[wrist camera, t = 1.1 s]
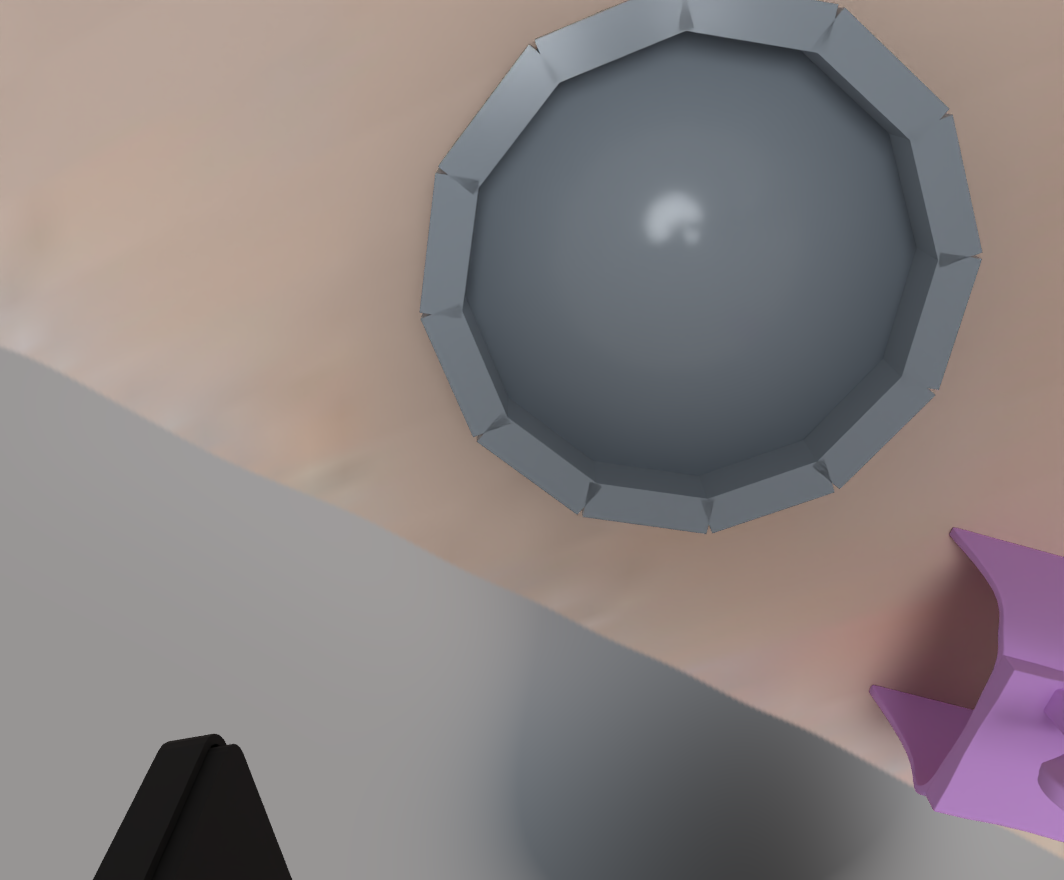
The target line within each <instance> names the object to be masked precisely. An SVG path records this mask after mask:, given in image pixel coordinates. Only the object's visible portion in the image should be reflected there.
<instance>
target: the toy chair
mask: <svg viewBox="0 0 1064 880" xmlns="http://www.w3.org/2000/svg"><path fill="white" fill-rule="evenodd" d="M949 535H950V536H951V538H952V539H953V540H954V541H955V542H956V543H957V544H958V546H959V547H960V548H961V549H962V550H963V551H964V552H965V554H966V555H967V556H968V557H969V558H970V559H971V561H972V562H973V563H974V564H975V565H976V567H977V568H978V569H979V571H980V572H981V573H982V575H983V576H984V577H985V579H986V580H987V582H988V584H989V585H990V587H991V588H992V590H993V592H994V594H995V597H996V599H997V602H998V607H999V628H998V654H997V659H996V663H995V666H994V669H993V671H992V673H991V676H990V678H989V680H988V682H987V684H986V685H985V687H984V689H983V692H982V694H981V696H980V698H979V700H978V702H977V704H976V706H975V709H974V710H972V709H968V708H964V707H960V706H956V705H952V704H948V703H944V702H940V701H936V700H932V699H928V698H924V697H920V696H916V695H912V694H908V693H904V692H900V691H896V690H893V689H889V688H885V687H881V686H876V685H872V686H871V688H870V690H869V693H870V694H871V696H872V697H873V699H874V700H875V702H876V703H877V705H878V706H879V708H880V709H881V711H882V712H883V714H884V715H885V717H886V718H887V720H888V721H889V723H890V724H891V726H892V727H893V729H894V731H895V732H896V734H897V736H898V737H899V739H900V741H901V743H902V745H903V747H904V749H905V751H906V753H907V755H908V758H909V761H910V764H911V769H912V773H913V782H914V788H915V791H916V792H917V793H919V794H920V795H924V796H926V797H927V799H928V801H929V803H930V804H931V806H932V809H933V810H934V811H936V812H940V813H944V814H948V815H952V816H957V817H961V818H965V819H970V820H976V821H981V822H987V823H992V824H997V825H1001V826H1006V827H1010V828H1014V829H1018V830H1022V831H1027V832H1030V833H1034V834H1037V835H1040V836H1044V837H1047V838H1051V839H1054V840H1058V841H1061V842H1064V557H1062V556H1058V555H1054V554H1051V553H1047V552H1043V551H1040V550H1036V549H1032V548H1029V547H1025V546H1021V545H1018V544H1014V543H1010V542H1007V541H1003V540H1000V539H996V538H992V537H989V536H985V535H981V534H978V533H974V532H970V531H967V530H963V529H959V528H955V527H953V528H952V530H951V532H950V534H949Z"/></svg>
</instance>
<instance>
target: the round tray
mask: <svg viewBox="0 0 1064 880" xmlns="http://www.w3.org/2000/svg"><path fill="white" fill-rule="evenodd" d="M535 42H536V45H537V49H535V48H534V47H533V46H532V45H530V44H528V46H527V47H526V48H525V50H524V51H523V52H522V54H521V55H520V56H519V58H518V59H517V61H516V62H515V63H514V65H513V66H512V67H511V69H510V70H509V71H508V73H507V74H506V75H505V77H504V78H503V79H502V81H501V82H500V83H499V85H498V86H497V87H496V89H495V90H494V91H493V93H492V94H491V95H490V97H489V98H488V99H487V100H486V102H485V103H484V105H483V106H482V107H481V109H480V110H479V111H478V113H477V114H476V116H475V117H474V118H473V120H472V121H471V122H470V124H469V125H468V126H467V128H466V129H465V130H464V132H463V133H462V134H461V136H460V137H459V138H458V140H457V141H456V142H455V144H454V145H453V146H452V148H451V149H450V150H449V152H448V153H447V154H446V156H445V157H444V158H443V160H442V161H441V163H440V165H439V166H438V167H439V169H438V170H437V172H436V174H435V182H434V191H433V200H432V209H431V217H430V226H429V235H428V244H427V253H426V261H425V270H424V279H423V288H422V296H421V305H420V313H423V314H422V316H421V321H422V323H423V325H424V328H425V330H426V332H427V334H428V337H429V339H430V341H431V343H432V345H433V348H434V350H435V352H436V354H437V357H438V359H439V361H440V363H441V366H442V368H443V370H444V372H445V375H446V377H447V379H448V381H449V384H450V386H451V388H452V390H453V393H454V395H455V397H456V399H457V402H458V404H459V406H460V408H461V411H462V413H463V415H464V417H465V420H466V422H467V424H468V426H469V429H470V431H471V433H472V435H473V437H475V436H477V435H478V437H477V442H478V443H480V444H481V445H482V446H484V447H485V448H486V449H488V450H489V451H491V452H492V453H493V454H495V455H496V456H497V457H499V458H500V459H502V460H503V461H504V462H506V463H507V464H508V465H510V466H511V467H513V468H514V469H515V470H517V471H518V472H519V473H521V474H522V475H524V476H525V477H526V478H528V479H529V480H530V481H532V482H533V483H535V484H536V485H537V486H539V487H540V488H541V489H543V490H544V491H545V492H547V493H548V494H550V495H551V496H552V497H554V498H555V499H556V500H558V501H559V502H561V503H562V504H563V505H565V506H566V507H567V508H569V509H570V510H572V511H573V512H574V513H576V514H578V513H579V512H580V511H581V510H582V515H583V517H588V518H595V519H602V520H609V521H617V522H624V523H631V524H638V525H646V526H653V527H660V528H667V529H675V530H682V531H689V532H696V533H704V534H706V533H707V529H708V525H709V526H710V528H711V531H712V533H715V532H718V531H721V530H724V529H727V528H729V527H732V526H735V525H738V524H741V523H744V522H747V521H750V520H753V519H756V518H759V517H762V516H765V515H768V514H771V513H774V512H777V511H780V510H783V509H786V508H789V507H792V506H795V505H798V504H801V503H804V502H807V501H810V500H813V499H816V498H819V497H822V496H825V495H828V494H831V493H834V489H833V485H832V483H833V484H834V485H835V486H837V487H838V488H839V489H840V488H841V487H842V486H843V485H844V484H845V483H846V482H847V481H848V480H849V479H850V478H851V477H852V476H854V475H855V474H856V473H857V472H858V471H859V470H860V469H861V468H862V467H863V466H864V465H865V464H866V463H867V462H868V461H869V460H870V459H871V458H872V457H873V456H874V455H875V454H876V453H877V452H878V451H879V450H880V449H881V448H882V447H883V446H884V445H885V444H886V443H887V442H888V441H889V440H890V439H891V438H892V437H893V436H894V435H895V434H896V433H897V432H898V431H899V430H900V429H901V428H902V427H903V426H904V425H905V424H906V423H907V422H909V421H910V420H911V419H912V418H913V417H914V416H915V415H916V414H917V413H918V412H919V411H920V410H921V409H922V408H923V407H924V406H925V405H926V404H927V403H928V402H929V401H930V400H931V399H932V398H933V397H934V396H935V394H934V393H932V392H931V391H930V390H929V389H928V388H930V389H937V390H939V387H940V384H941V381H942V378H943V375H944V372H945V369H946V366H947V363H948V360H949V357H950V354H951V351H952V348H953V345H954V342H955V339H956V336H957V333H958V330H959V327H960V324H961V321H962V318H963V315H964V312H965V309H966V306H967V303H968V300H969V296H970V293H971V290H972V287H973V284H974V281H975V278H976V275H977V272H978V269H979V266H980V263H981V260H982V259H981V258H979V257H977V256H975V255H977V254H979V253H982V249H981V244H980V240H979V235H978V230H977V226H976V221H975V216H974V212H973V207H972V203H971V198H970V193H969V189H968V184H967V179H966V175H965V170H964V166H963V161H962V156H961V152H960V147H959V142H958V138H957V133H956V129H955V124H954V119H953V115H951V114H946V112H947V111H948V110H949V108H948V107H947V106H946V105H945V104H944V103H943V102H942V101H941V100H940V99H939V98H937V97H936V96H935V95H934V94H933V93H932V92H931V91H930V90H929V89H928V88H927V87H926V86H925V85H924V84H923V83H922V82H921V81H920V80H919V79H918V78H917V77H916V76H915V75H914V74H913V73H912V72H911V71H910V70H909V69H908V68H907V67H906V66H904V65H903V64H902V63H901V62H900V61H899V60H898V59H897V58H896V57H895V56H894V55H893V54H892V53H891V52H890V51H889V50H888V49H887V48H886V47H885V46H884V45H883V44H882V43H881V42H880V41H879V40H878V39H877V38H876V37H875V36H874V35H872V34H871V33H870V32H869V31H868V30H867V29H866V28H865V27H864V26H863V25H862V24H861V23H860V22H859V21H858V20H857V19H856V18H855V17H854V16H853V15H852V14H851V13H850V12H849V11H848V10H847V9H846V8H838V4H833V3H827V2H821V1H816V0H627V1H625V2H622V3H620V4H618V5H615V6H613V7H610V8H608V9H605V10H603V11H600V12H598V13H596V14H594V15H591V16H589V17H586V18H584V19H582V20H579V21H577V22H575V23H572V24H570V25H567V26H565V27H563V28H560V29H558V30H555V31H553V32H551V33H548V34H546V35H543V36H541V37H539V38H536V39H535Z"/></svg>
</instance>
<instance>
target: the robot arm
mask: <svg viewBox="0 0 1064 880" xmlns="http://www.w3.org/2000/svg"><path fill="white" fill-rule="evenodd" d="M93 880H292V878H291V876H290V873H289V871H288V868H287V865H286V863H285V860H284V858H283V855H282V852H281V850H280V847H279V845H278V842H277V839H276V837H275V834H274V832H273V829H272V826H271V824H270V822H269V819H268V816H267V814H266V811H265V808H264V806H263V803H262V801H261V798H260V796H259V793H258V790H257V788H256V785H255V783H254V780H253V778H252V775H251V772H250V770H249V767H248V764H247V762H246V759H245V757H244V754H243V752H242V750H241V749H240V747H239V746H238V745H236V744H231V745H226V743H225V741H224V739H223V738H222V737H221V736H220V735H217V734H210V735H204V736H198V737H192V738H186V739H180V740H175V741H169V742H167V743H165V744H163V745H162V747H161V748H160V749H159V751H158V753H157V755H156V757H155V759H154V761H153V762H152V764H151V766H150V769H149V770H148V773H147V774H146V776H145V778H144V780H143V782H142V785H141V786H140V788H139V790H138V792H137V794H136V796H135V798H134V800H133V802H132V804H131V806H130V808H129V810H128V812H127V814H126V816H125V818H124V820H123V822H122V823H121V825H120V827H119V829H118V831H117V833H116V835H115V837H114V839H113V841H112V843H111V845H110V847H109V849H108V851H107V853H106V855H105V857H104V859H103V861H102V863H101V865H100V867H99V869H98V871H97V873H96V875H95V877H94V879H93Z"/></svg>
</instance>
